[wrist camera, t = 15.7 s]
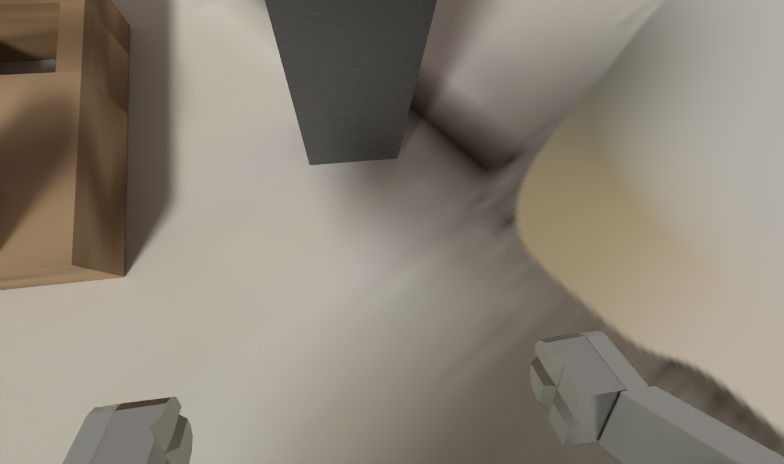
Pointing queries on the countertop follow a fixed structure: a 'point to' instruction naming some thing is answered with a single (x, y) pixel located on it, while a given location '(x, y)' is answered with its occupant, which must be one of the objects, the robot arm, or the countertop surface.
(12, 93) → the hand plane
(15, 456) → the countertop surface
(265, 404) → the countertop surface
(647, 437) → the robot arm
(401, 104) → the lever cap
